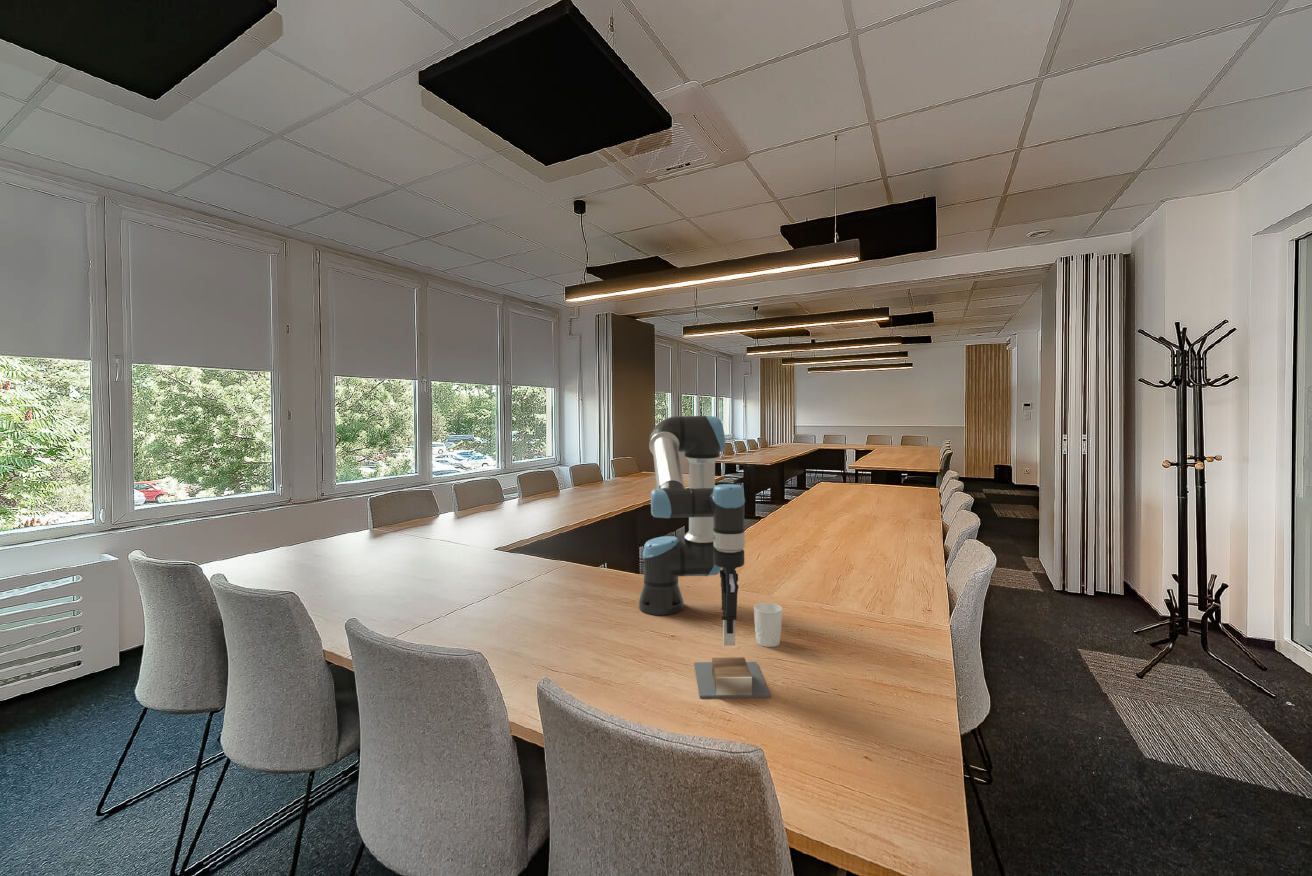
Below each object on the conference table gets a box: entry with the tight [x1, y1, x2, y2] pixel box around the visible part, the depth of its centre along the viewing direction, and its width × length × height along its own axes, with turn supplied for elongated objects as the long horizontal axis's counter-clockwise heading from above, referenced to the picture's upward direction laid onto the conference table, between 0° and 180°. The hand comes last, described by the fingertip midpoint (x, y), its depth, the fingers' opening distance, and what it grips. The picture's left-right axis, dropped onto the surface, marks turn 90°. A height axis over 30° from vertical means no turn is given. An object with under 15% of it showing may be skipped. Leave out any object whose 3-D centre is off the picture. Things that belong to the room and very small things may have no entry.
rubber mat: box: [693, 661, 771, 699], centre depth 124 cm, size 16×16×1 cm
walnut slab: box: [711, 656, 752, 695], centre depth 121 cm, size 4×8×10 cm
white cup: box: [753, 602, 783, 648], centre depth 145 cm, size 8×8×10 cm
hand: (729, 644), depth 125 cm, fingers closed
